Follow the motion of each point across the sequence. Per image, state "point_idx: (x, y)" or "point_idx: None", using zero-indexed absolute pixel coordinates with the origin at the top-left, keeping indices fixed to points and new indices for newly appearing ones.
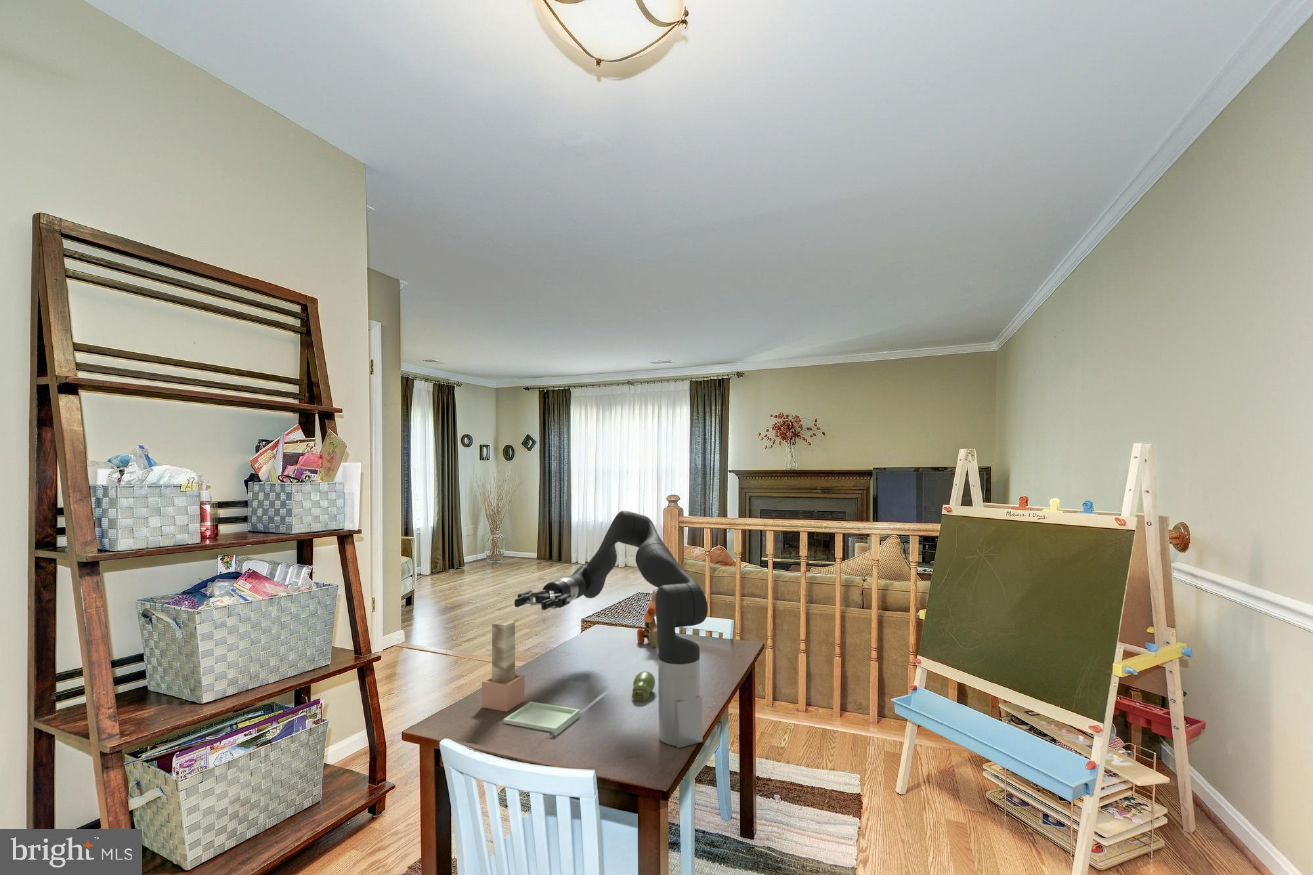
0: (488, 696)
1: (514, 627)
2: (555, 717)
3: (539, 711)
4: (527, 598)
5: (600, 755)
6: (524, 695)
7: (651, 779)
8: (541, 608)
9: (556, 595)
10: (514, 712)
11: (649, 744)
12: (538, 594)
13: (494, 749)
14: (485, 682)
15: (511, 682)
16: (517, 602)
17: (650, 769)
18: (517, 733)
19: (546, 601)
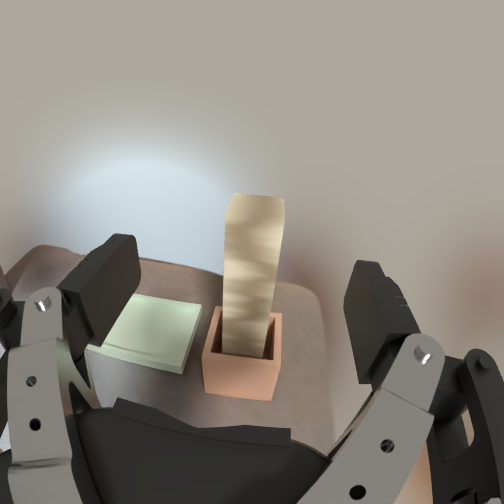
0: None
1: (225, 230)
2: (121, 329)
3: (154, 347)
4: (450, 488)
5: (70, 270)
6: (204, 384)
7: (41, 249)
8: (140, 270)
9: (4, 455)
10: (193, 325)
11: (22, 288)
12: (304, 486)
13: (187, 270)
14: (271, 313)
15: (213, 318)
16: (353, 281)
17: (37, 258)
18: (172, 299)
19: (100, 251)
